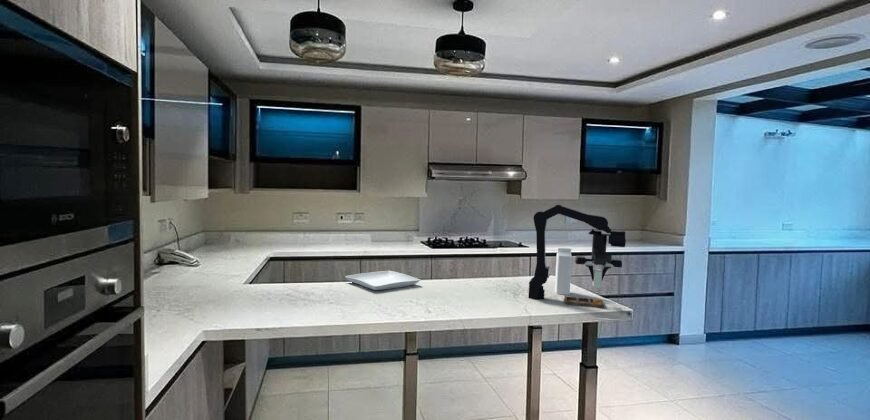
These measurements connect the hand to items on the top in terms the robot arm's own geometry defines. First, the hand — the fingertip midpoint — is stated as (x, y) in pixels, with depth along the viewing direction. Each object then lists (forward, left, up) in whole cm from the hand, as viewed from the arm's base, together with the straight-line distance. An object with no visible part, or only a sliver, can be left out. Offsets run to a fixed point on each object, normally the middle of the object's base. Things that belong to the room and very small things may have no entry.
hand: (596, 281), depth 206 cm
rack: (-5, 0, -11) cm, 12 cm away
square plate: (-99, +6, -12) cm, 100 cm away
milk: (-13, +17, -11) cm, 24 cm away
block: (0, 0, -2) cm, 2 cm away
